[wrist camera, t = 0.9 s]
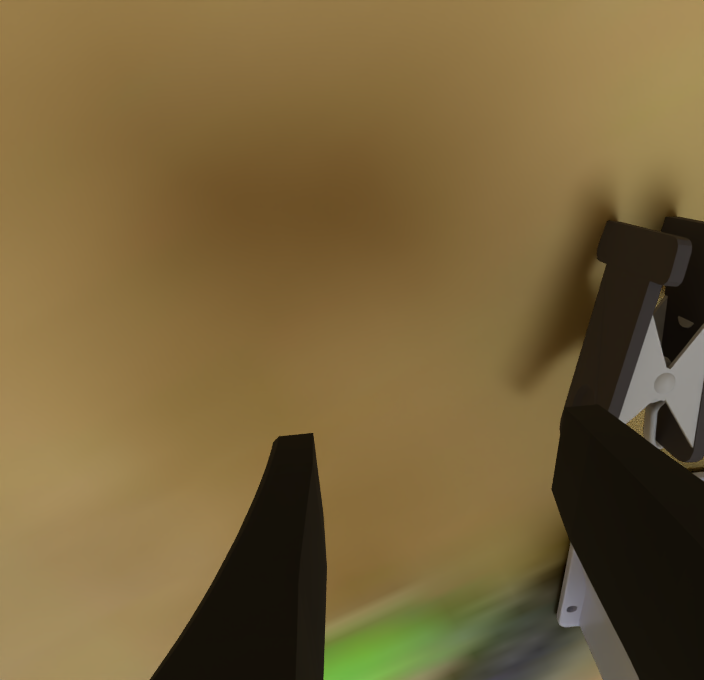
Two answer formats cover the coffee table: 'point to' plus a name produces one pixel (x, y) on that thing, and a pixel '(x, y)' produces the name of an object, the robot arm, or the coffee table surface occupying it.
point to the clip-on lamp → (649, 334)
